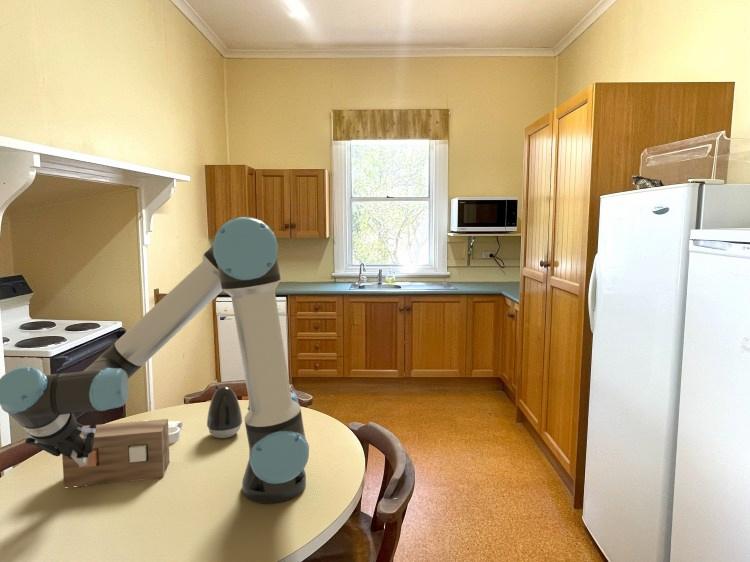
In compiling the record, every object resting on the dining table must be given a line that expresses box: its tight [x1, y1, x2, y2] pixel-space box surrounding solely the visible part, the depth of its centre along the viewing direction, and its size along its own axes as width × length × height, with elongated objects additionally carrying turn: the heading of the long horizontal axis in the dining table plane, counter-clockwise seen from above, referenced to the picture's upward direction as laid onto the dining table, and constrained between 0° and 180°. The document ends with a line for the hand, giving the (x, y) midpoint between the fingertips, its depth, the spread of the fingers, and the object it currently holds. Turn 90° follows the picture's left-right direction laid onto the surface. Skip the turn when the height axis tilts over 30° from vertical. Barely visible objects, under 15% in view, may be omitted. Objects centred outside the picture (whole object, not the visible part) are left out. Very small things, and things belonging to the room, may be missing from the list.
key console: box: [61, 418, 171, 489], centre depth 115 cm, size 8×22×12 cm, turn 104°
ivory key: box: [129, 444, 148, 462], centre depth 114 cm, size 5×4×4 cm
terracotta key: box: [79, 448, 99, 468], centre depth 111 cm, size 5×4×4 cm
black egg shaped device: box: [206, 384, 243, 439], centre depth 138 cm, size 10×10×15 cm
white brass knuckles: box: [144, 419, 184, 445], centre depth 137 cm, size 3×18×15 cm
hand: (84, 460), depth 107 cm, fingers closed
